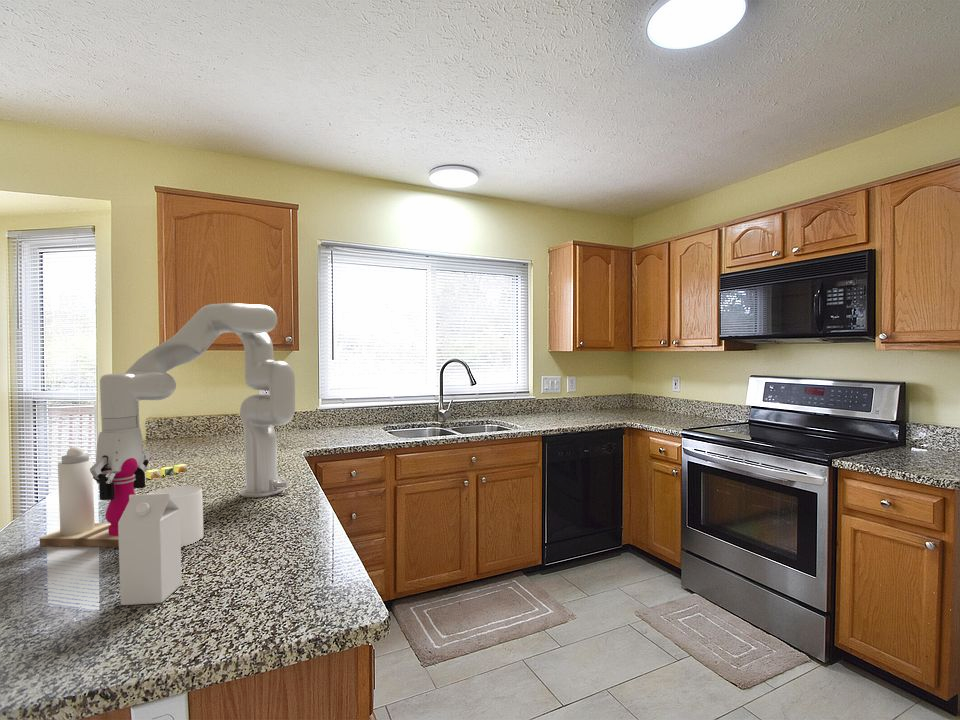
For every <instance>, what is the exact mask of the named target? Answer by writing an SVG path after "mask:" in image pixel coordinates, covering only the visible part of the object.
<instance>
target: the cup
mask: <svg viewBox="0 0 960 720" xmlns="http://www.w3.org/2000/svg"><path fill="white" fill-rule="evenodd" d="M168 493H169V494H170V500H171V501H172V502H173V503H174V504H175V505H176V506H177V507H178V508H179V509H180V540H181V547H183V546H186V547H188V546H187V545H189V546H191V545H190V544H192V545H194V544H196V543H198V542H200V541H201V540H202V539H203V538H204V503H203V502H204V501H203V500H204V499H203V488H202V487H201V486H199V485H193V484H190V485H185V484H184V485H175V486H169V487H164V488H160V489H156V490H153V491H150V492H149V493H147V494H168ZM200 539H201V540H200ZM199 540H200V541H199ZM197 541H198V542H197ZM195 542H196V543H195ZM193 543H194V544H193ZM183 548H184V547H183Z"/></svg>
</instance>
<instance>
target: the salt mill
mask: <svg viewBox="0 0 960 720" xmlns="http://www.w3.org/2000/svg"><path fill="white" fill-rule="evenodd" d="M93 465H94V462H93V459H92V458H90V454H89V453H88V452H84V449H83V448H82V446H78V445H75V446H71V447H69V448H68V450H67V451H66V454H64V455H62V456H61V462H58V463H57V473H58V475H57V476H58V477H57V479H58V504H59V505H58V506H59V508H58V510H59V530H60V534H61V535H75V534H80V533H84V532H88V531H90V530H92V529H94V528H95V523H96V522H95V501H94V500H95V498H94V495H95V494H94V478H93V475H92V473H91V472H90V468H91V467H92V466H93Z"/></svg>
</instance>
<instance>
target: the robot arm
mask: <svg viewBox="0 0 960 720" xmlns="http://www.w3.org/2000/svg"><path fill="white" fill-rule="evenodd" d="M277 324H278V315H277V312H275V310H274V309H273V308H272V307H271V306H268V305H266V304H249V303H237V302H236V303H235V302H225V303H223V302H221V303H211V304H207V305H204V306H203V307H201V308H199V309H198V311H196V313H194V315H193V316H192V317H191V318H190V319H189V320H188V321H187V322H186V323H185V324H184V325H183V326H182V327H181V328H180V329H179V330H178V331H177V332H176V333H175V334H174V335H173V336H172V337H170V338H169V339H166V340H165V341H163V342H162V343H160V344H159V345H157V346H156V347H154V348H152V349H151V350H149V351H147V352H146V353H145V354H143V355H141V357H140V358H138V359H137V360H136V361H135V362H134V363H133V364H132V365H131V366H130V367H129V368H128V369H127V370H126V371H125V373H107V374H104V375H102V376H100V378H99V393H100V395H99V396H100V397H99V398H100V400H99V401H100V420H101V423H100V424H101V431H100V432H99V433H98V436H97V444H96V452H95V453H96V454H95V455H96V456H95V463H93V466H92V467H91V468H90V472H91V473H92V475H93V480H95V481H96V484H97V485H98V486H99V500H100V501H111V500H113V499H114V498H115V496H114V483H111V482H112V480H113V478H114V476H115V474H116V473H119V472H120V471H121V468H122V465H123V463H124V462H125V461H126V460H127V459H129V458H134V459H136V461H137V464H138V467H137V470H136V471H135V472H134V474H135V479H136V480H135V481H134V484H133V487H134V489H145V488H146V481H145V473H146V471H148V470H147V466H148V465H149V460H150V456H151V452H150V451H148V450H145V448H144V440H143V439H144V438H143V434H142V430H141V427H140V408H139V407H140V405H139V404H140V401H162V400H165V399H167V398H169V397H170V396H172V395H173V394H174V392H175V391H176V387H177V383H176V380H175V378H174V377H173V376H172V375H171V374H169V373H167V372H169V371H170V370H172V369H175V368H177V367H178V366H181V365H184V364H188V363H190V362H193V361H195V360H197V359H200V357H201V356H203V354H204V353H205V352H206V351H208V349H209V347H210V346H211V345H212V344H213V343H215V341H216V340H217V338H219V336H221V334H227V333H234V334H236V336H237V337H238V338H239V339H240V341H241V343H242V345H243V349H244V350H243V351H244V380H245V384H246V385H247V387H248V388H249V389H251V390H254V391H266V392H267V391H269V394H252V395H249V396H248V397H246V398H245V399H243V401H242V402H241V404H240V408H239V409H240V410H239V412H240V419H241V422H242V427H243V437H244V438H243V439H244V468H245V469H244V471H245V472H244V474H245V476H244V477H245V479H244V480H245V481H244V482H245V487H244V488H242V489H241V490H240V492H239V493H240V496H241V497H243V498H263V497H264V498H265V497H269V496H273V495H276V494H279V493H281V492H283V490H284V488H285V489H286V488H289V486H290V481H289V480H287V479H286V480H284V479H283V480H282V476H281V475H279V474H278V445H277V443H278V441H277V439H278V438H277V437H278V436H277V433H276V430H275V427H274V426H285V425H287V424H289V423H290V422H291V421H292V420H293V419H294V415H295V410H296V378H295V373H294V370H293V368H292V367H291V365H290V364H289V363H287V362H285V361H283V360H275V357H274V354H275V353H274V344H273V341H272V338H271V337H270V335H269V334H268V333H269V332H272V331H273V330H274V329H275V328H276V326H277ZM109 468H111V469H112V470H108V469H109Z"/></svg>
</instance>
